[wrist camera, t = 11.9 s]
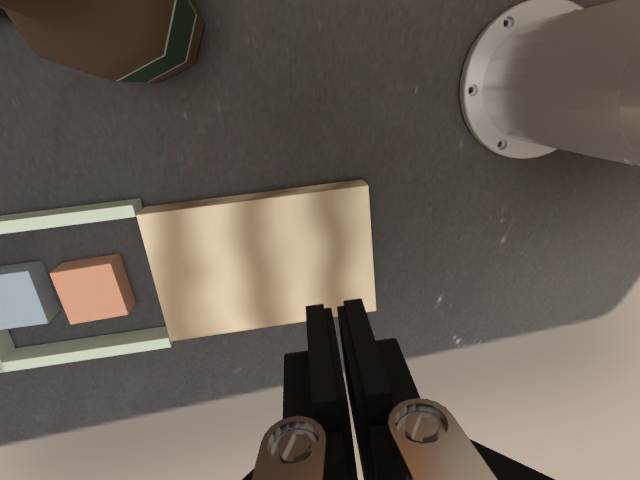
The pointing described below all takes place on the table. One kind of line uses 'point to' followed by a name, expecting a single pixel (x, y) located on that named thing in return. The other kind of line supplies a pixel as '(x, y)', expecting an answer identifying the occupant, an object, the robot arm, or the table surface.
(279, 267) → the wooden cutting board
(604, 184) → the table surface
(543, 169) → the table surface
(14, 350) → the u-shaped frame
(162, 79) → the beer bottle
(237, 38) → the table surface
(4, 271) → the slate tile
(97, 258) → the terracotta tile
